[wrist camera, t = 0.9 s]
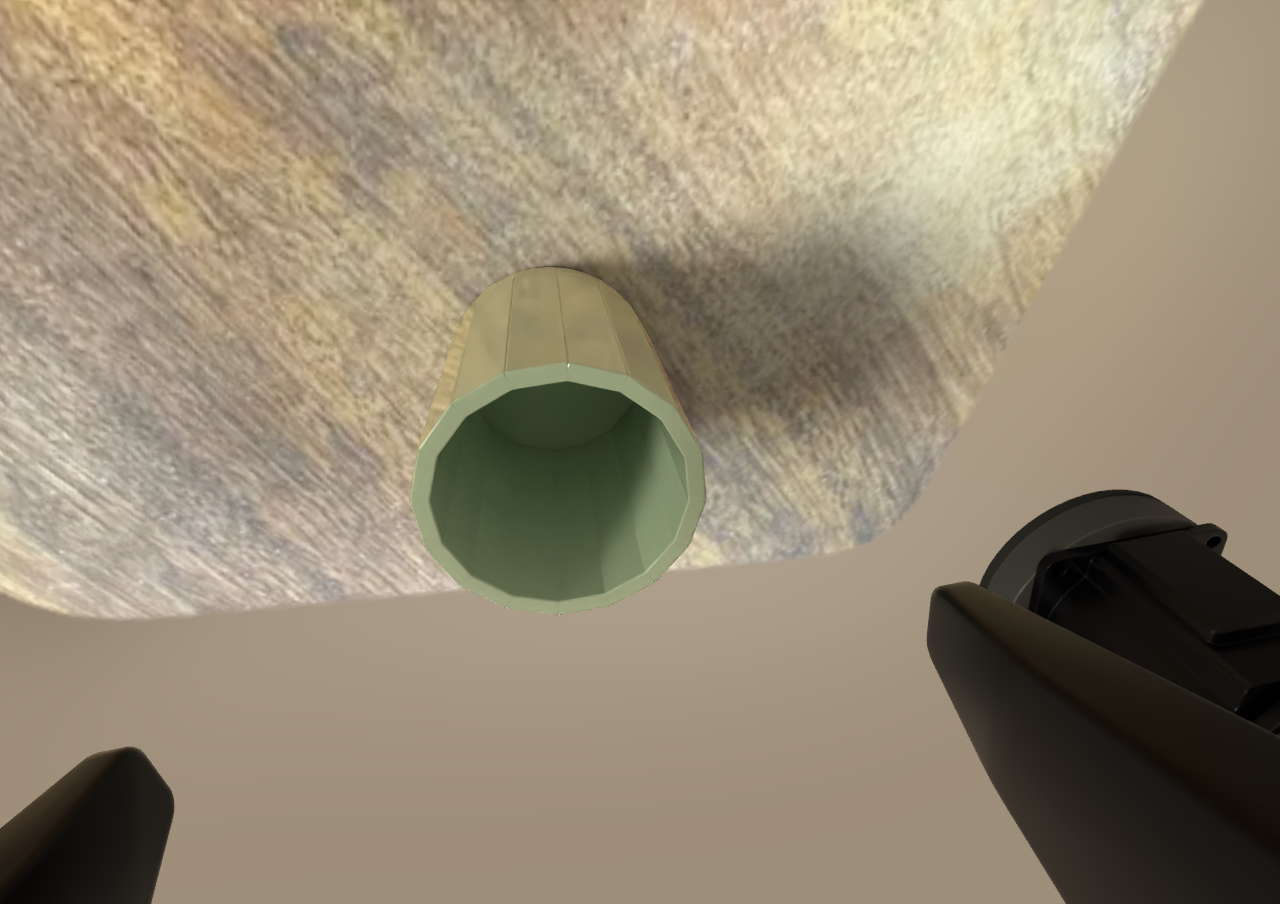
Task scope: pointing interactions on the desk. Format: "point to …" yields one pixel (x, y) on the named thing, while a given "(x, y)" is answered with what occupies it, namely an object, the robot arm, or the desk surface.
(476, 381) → the cup
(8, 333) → the desk surface
